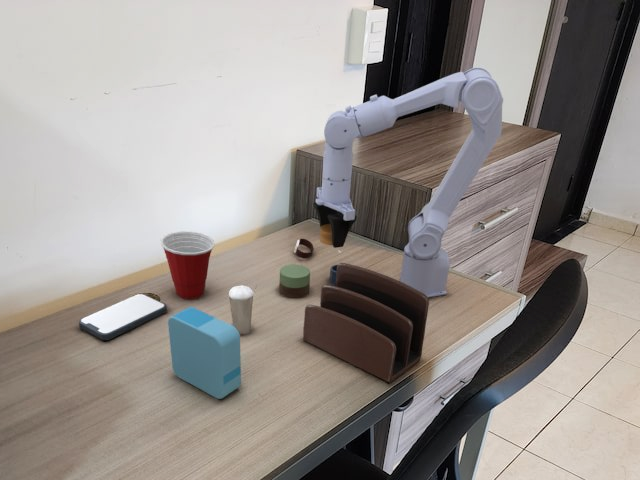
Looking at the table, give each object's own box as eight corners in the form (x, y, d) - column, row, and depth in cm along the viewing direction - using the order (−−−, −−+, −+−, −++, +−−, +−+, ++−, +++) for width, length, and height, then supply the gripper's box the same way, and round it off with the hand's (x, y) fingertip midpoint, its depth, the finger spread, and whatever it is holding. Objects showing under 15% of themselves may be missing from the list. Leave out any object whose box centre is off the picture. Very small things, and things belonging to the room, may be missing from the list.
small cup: (343, 276, 139) (344, 263, 137) (351, 284, 135) (353, 271, 134) (326, 278, 137) (327, 265, 136) (334, 287, 134) (335, 274, 132)
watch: (295, 246, 152) (295, 232, 150) (314, 247, 151) (315, 233, 149) (292, 260, 145) (292, 245, 143) (312, 261, 145) (313, 246, 143)
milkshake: (257, 337, 117) (257, 289, 111) (229, 336, 117) (227, 289, 111) (258, 324, 121) (258, 278, 115) (231, 324, 121) (229, 277, 115)
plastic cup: (214, 306, 126) (211, 251, 120) (161, 305, 126) (156, 250, 120) (219, 281, 135) (217, 230, 129) (170, 280, 135) (165, 229, 129)
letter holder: (335, 321, 122) (340, 255, 114) (421, 361, 111) (433, 291, 103) (302, 340, 116) (304, 272, 108) (389, 384, 105) (400, 312, 97)
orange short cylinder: (338, 233, 133) (339, 222, 131) (349, 243, 129) (350, 231, 127) (315, 236, 131) (316, 225, 130) (325, 246, 127) (326, 235, 126)
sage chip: (302, 272, 135) (303, 262, 133) (314, 285, 130) (314, 275, 128) (275, 276, 133) (275, 266, 131) (285, 290, 128) (286, 279, 126)
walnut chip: (302, 282, 136) (302, 272, 135) (313, 295, 131) (314, 285, 130) (275, 286, 134) (275, 276, 133) (285, 300, 129) (285, 290, 128)
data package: (241, 389, 103) (240, 328, 96) (223, 402, 100) (220, 340, 93) (191, 363, 109) (186, 303, 103) (172, 374, 106) (166, 314, 100)
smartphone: (141, 298, 129) (76, 327, 119) (140, 291, 128) (75, 320, 118) (170, 312, 125) (105, 343, 114) (169, 305, 124) (104, 336, 113)
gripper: (304, 167, 127) (301, 230, 134) (333, 190, 116) (328, 257, 123) (335, 164, 129) (331, 226, 136) (367, 186, 118) (360, 252, 125)
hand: (332, 241), depth 130 cm, fingers closed on orange short cylinder, 5 cm apart
